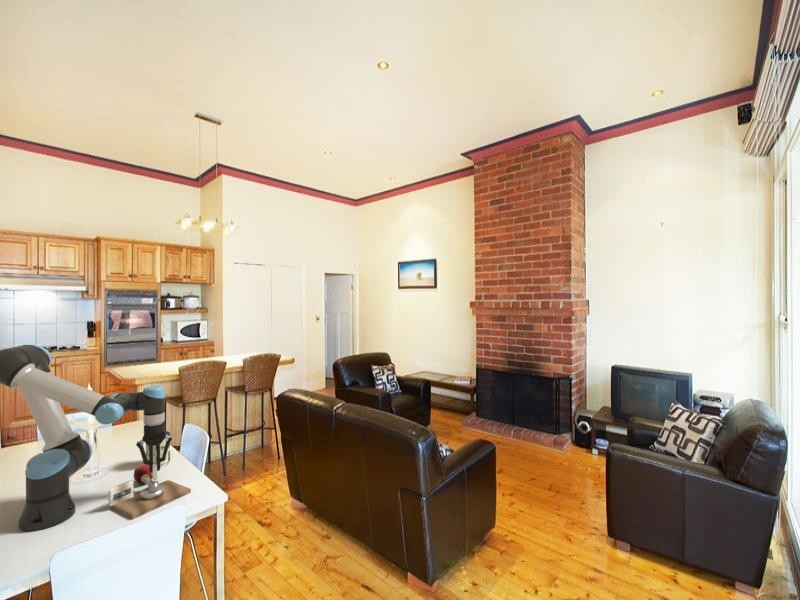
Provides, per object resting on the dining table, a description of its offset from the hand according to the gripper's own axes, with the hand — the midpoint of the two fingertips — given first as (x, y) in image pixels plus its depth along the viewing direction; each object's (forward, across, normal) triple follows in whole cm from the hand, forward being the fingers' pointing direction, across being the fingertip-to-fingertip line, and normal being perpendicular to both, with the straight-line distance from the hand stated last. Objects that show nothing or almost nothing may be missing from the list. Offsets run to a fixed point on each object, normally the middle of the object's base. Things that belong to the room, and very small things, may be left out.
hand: (155, 478), depth 161 cm
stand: (+5, +1, +8) cm, 10 cm away
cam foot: (+3, +2, +5) cm, 6 cm away
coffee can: (+5, 0, -29) cm, 30 cm away
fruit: (+5, +4, -9) cm, 11 cm away
